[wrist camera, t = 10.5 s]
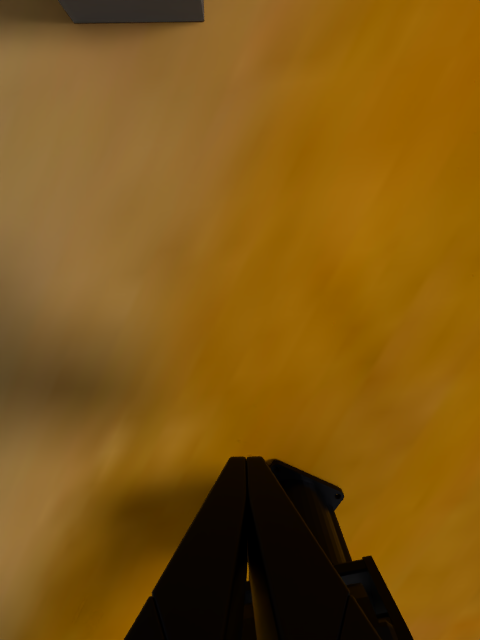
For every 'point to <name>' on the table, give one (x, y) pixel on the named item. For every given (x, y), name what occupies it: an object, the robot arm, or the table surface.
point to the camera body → (133, 10)
